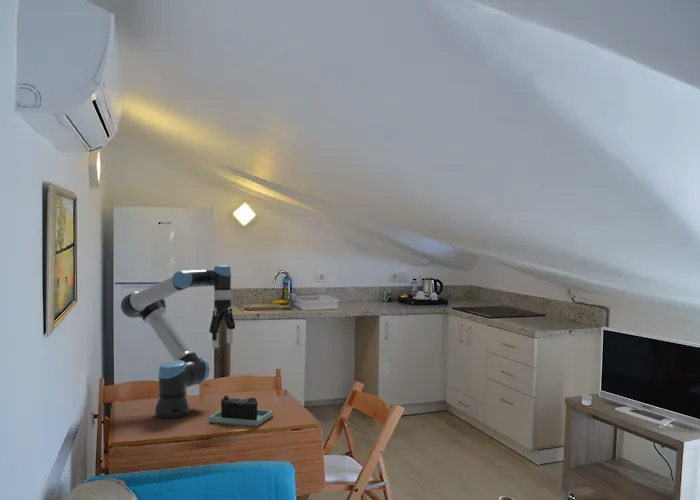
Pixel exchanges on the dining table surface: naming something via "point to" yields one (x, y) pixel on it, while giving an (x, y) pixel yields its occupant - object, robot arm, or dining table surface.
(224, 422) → the storage tray
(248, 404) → the camera
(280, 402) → the dining table surface
